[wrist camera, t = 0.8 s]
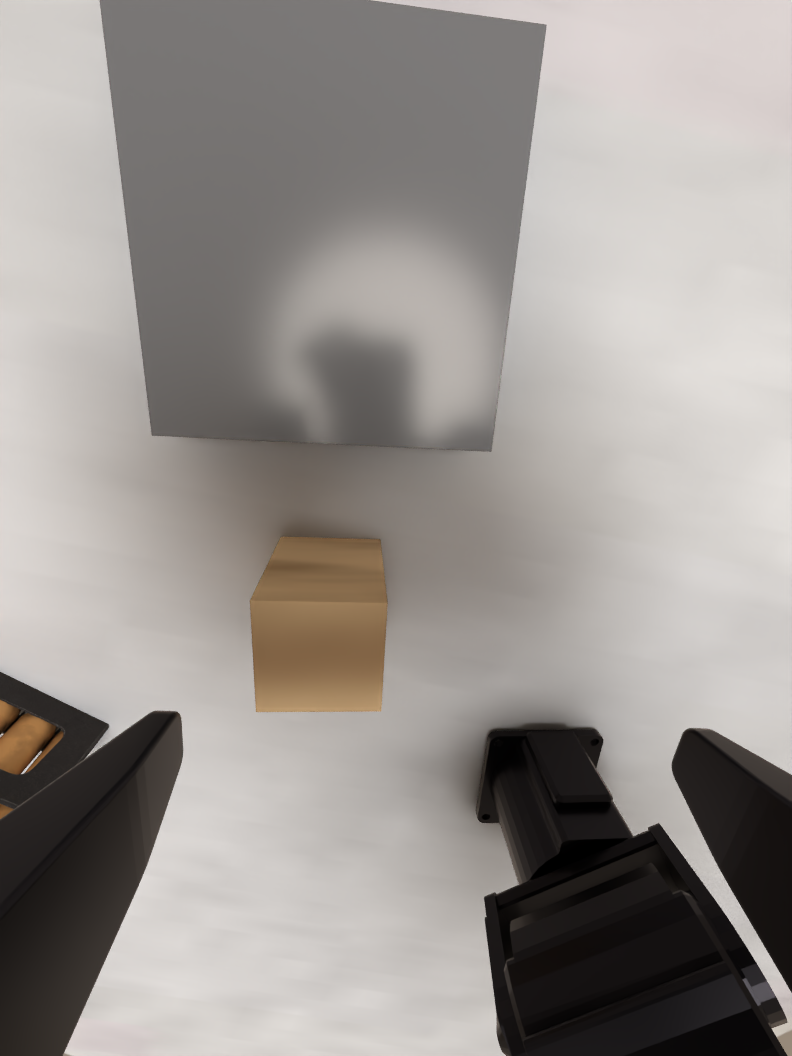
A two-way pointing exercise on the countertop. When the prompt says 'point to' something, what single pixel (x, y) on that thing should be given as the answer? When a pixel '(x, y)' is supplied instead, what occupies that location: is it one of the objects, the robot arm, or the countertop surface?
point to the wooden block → (320, 626)
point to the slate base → (322, 214)
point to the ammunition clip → (39, 740)
